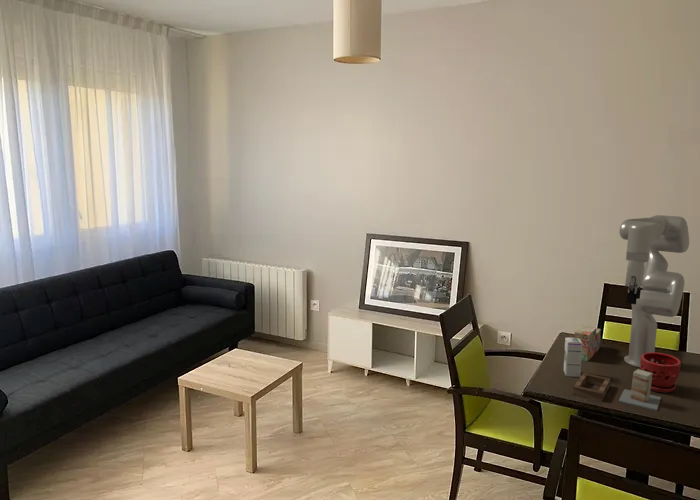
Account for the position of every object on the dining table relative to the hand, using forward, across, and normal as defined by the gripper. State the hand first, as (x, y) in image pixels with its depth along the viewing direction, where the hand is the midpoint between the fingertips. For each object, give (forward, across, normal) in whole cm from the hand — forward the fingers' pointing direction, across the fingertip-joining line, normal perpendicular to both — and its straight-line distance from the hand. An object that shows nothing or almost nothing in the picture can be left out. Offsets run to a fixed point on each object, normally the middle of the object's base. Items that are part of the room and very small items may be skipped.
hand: (633, 300), depth 207 cm
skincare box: (+32, +16, +7) cm, 36 cm away
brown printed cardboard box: (+33, -24, -19) cm, 45 cm away
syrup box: (+32, +5, -19) cm, 38 cm away
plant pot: (+33, 0, +11) cm, 34 cm away
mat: (+32, +16, +7) cm, 37 cm away
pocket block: (+32, +17, -9) cm, 38 cm away
